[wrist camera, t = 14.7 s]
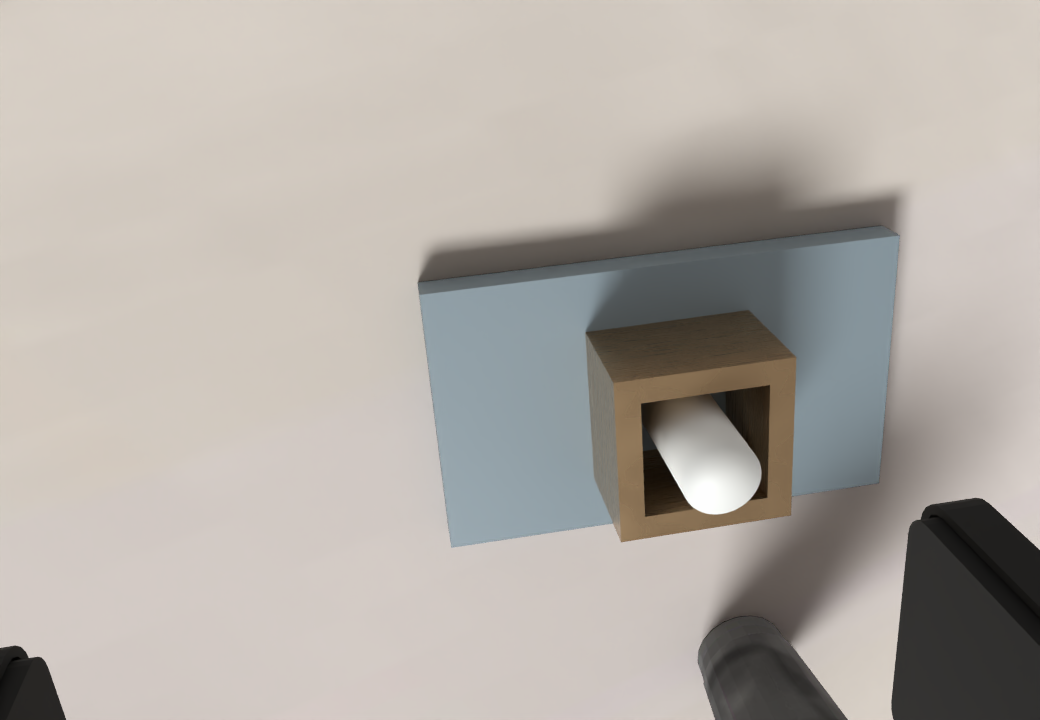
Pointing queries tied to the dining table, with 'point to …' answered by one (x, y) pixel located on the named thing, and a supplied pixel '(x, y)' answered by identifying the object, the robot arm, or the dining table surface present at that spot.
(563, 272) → the post board
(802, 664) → the beverage cup
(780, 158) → the dining table surface
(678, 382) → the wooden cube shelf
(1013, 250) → the dining table surface
